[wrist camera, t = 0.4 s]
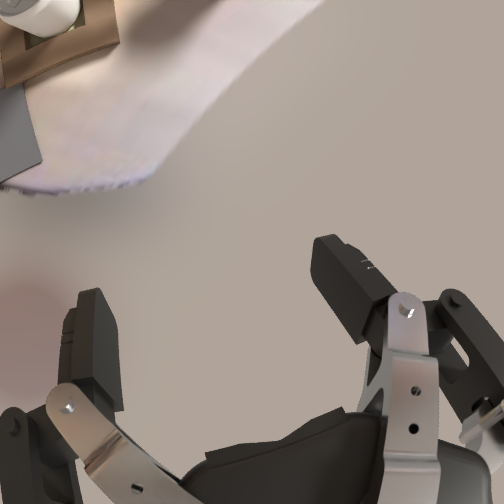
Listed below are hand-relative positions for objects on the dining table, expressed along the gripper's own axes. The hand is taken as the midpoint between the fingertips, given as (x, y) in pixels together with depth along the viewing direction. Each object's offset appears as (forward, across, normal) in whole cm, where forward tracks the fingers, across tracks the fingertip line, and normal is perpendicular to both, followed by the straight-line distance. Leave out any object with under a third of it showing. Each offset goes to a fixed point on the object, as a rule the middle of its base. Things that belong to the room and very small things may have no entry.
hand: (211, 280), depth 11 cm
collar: (+29, +12, -17) cm, 36 cm away
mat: (+28, +22, -5) cm, 35 cm away
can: (+29, +12, -17) cm, 36 cm away
